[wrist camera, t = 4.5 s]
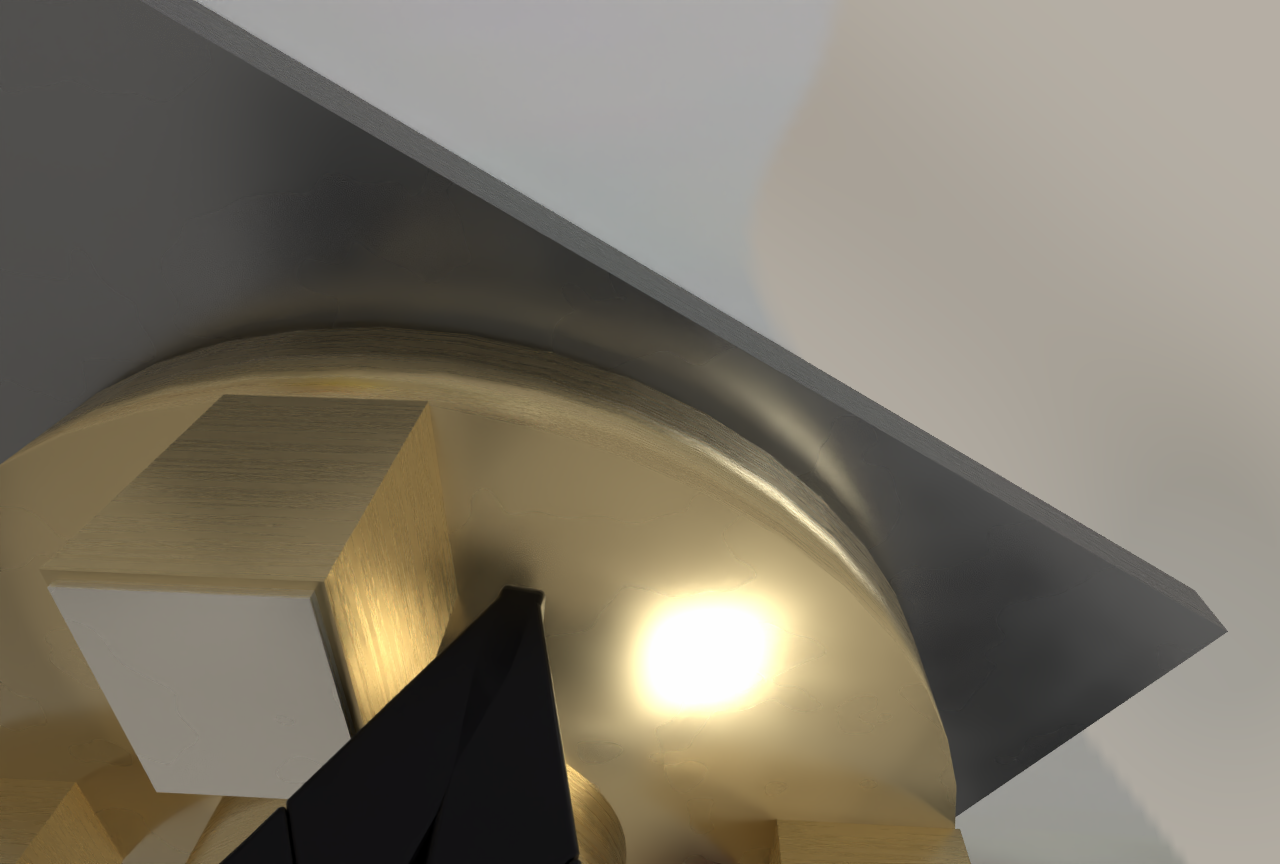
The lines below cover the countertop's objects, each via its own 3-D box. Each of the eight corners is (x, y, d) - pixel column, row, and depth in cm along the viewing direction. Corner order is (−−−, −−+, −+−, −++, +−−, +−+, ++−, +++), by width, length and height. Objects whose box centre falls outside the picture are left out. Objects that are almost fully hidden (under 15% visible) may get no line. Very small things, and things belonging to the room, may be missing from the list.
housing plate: (1194, 590, 14) (1231, 635, 13) (638, 995, 23) (635, 1038, 23) (59, -79, 9) (-10, -83, 8) (-63, 763, 19) (-101, 805, 18)
